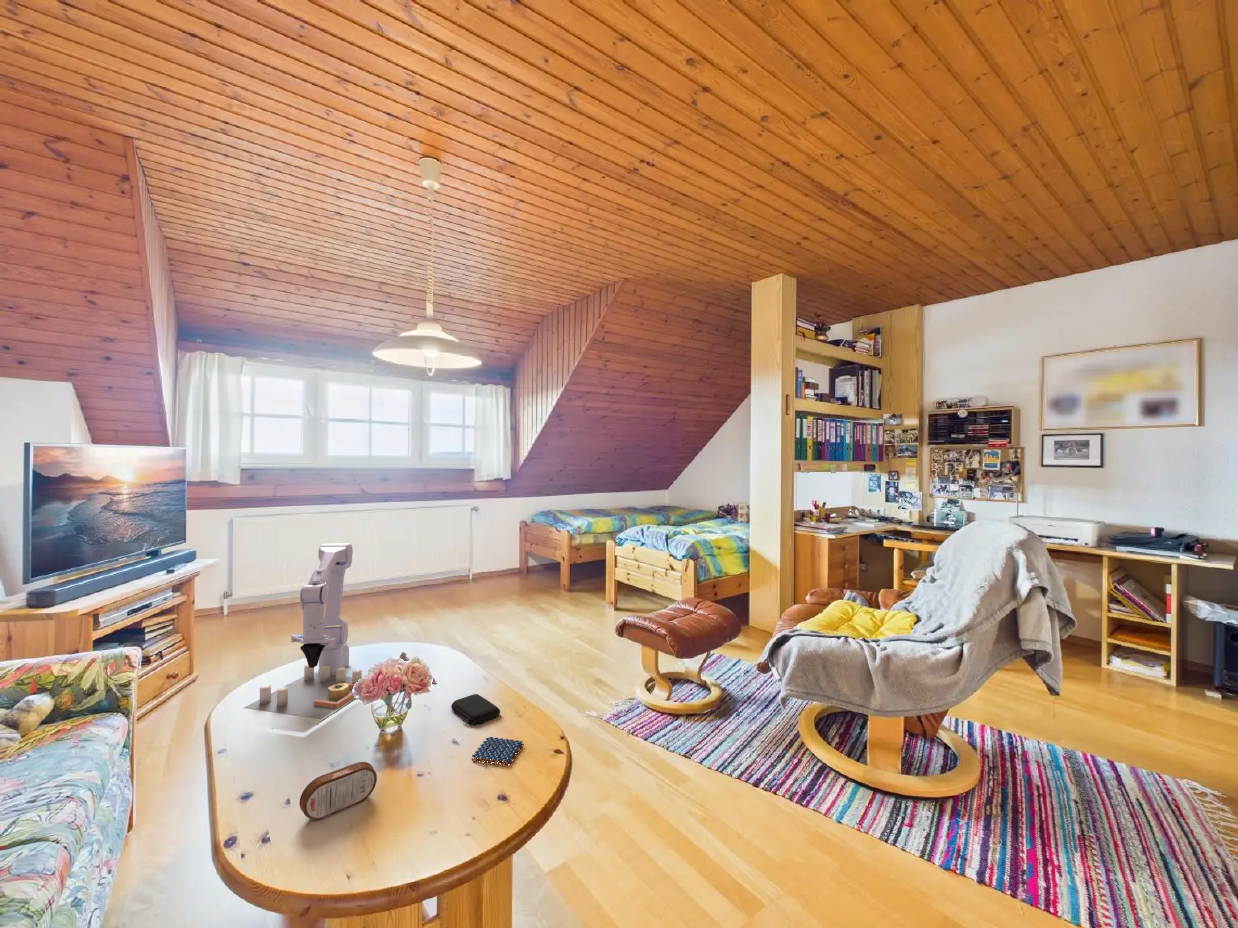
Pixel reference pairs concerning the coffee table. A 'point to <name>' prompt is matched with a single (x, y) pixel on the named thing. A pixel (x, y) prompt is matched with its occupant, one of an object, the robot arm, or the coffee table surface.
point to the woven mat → (498, 750)
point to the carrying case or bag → (475, 709)
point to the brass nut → (338, 691)
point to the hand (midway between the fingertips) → (313, 666)
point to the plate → (305, 693)
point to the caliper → (403, 656)
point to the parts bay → (335, 704)
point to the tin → (338, 790)
